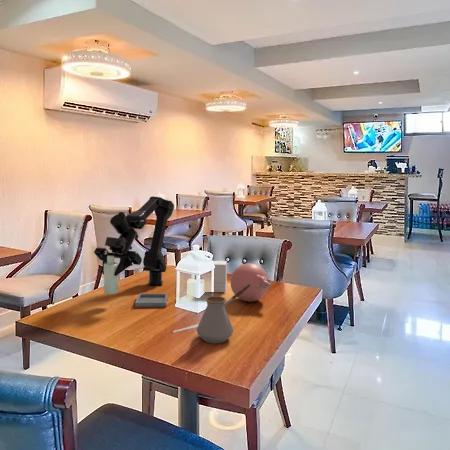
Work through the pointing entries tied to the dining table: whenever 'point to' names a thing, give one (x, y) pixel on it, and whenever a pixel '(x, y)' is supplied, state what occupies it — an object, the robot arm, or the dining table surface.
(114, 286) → the glass bottle
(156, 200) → the robot arm
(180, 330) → the butter knife
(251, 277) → the pomegranate
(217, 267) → the supplement box
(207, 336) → the coffee pot
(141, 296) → the slate tray
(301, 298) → the dining table surface
